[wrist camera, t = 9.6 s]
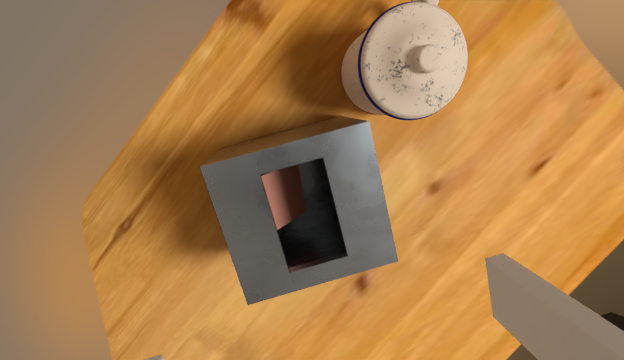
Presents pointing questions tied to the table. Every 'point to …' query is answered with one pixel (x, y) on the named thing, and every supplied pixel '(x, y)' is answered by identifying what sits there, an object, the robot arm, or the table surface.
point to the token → (284, 194)
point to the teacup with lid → (406, 62)
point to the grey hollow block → (318, 201)
